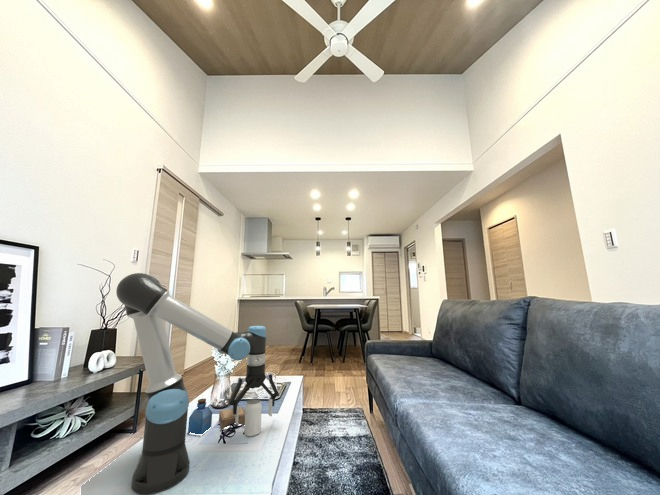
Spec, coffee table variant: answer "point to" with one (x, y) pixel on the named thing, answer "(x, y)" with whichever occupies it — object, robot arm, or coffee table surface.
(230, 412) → the plinth
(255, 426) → the can
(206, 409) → the perfume bottle
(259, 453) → the coffee table surface
